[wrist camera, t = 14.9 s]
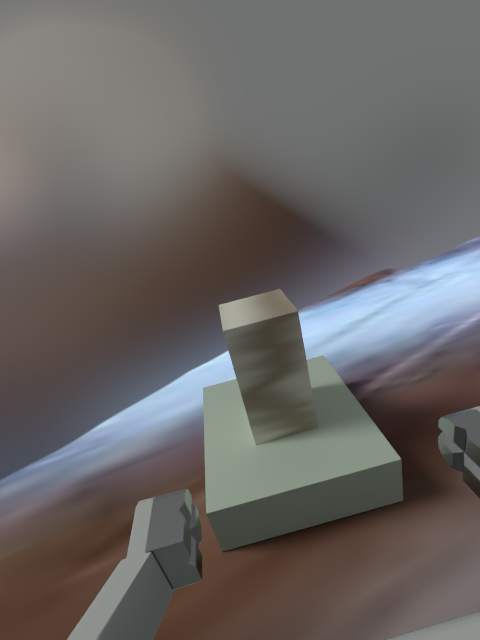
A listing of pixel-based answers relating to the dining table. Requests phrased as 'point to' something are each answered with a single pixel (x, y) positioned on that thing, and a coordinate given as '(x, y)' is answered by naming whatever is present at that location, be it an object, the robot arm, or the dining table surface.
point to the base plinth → (294, 465)
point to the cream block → (270, 365)
